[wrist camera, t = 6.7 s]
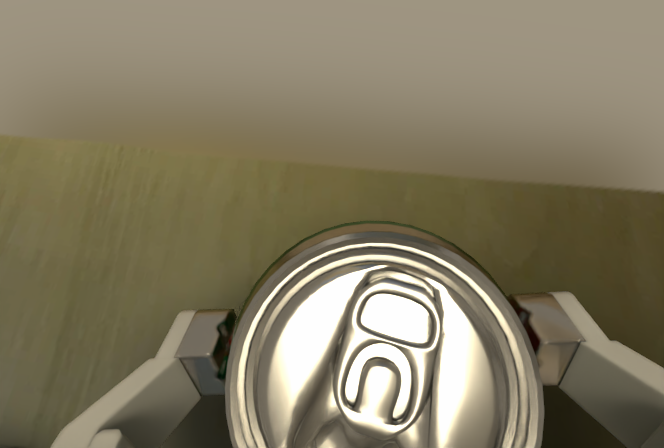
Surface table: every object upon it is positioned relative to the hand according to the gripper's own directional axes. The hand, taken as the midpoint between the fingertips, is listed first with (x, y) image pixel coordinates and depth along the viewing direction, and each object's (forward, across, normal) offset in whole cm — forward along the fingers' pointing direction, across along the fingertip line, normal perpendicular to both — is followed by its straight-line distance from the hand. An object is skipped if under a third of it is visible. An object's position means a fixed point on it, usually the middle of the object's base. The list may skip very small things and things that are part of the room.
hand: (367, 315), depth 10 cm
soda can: (+4, 0, +5) cm, 7 cm away
